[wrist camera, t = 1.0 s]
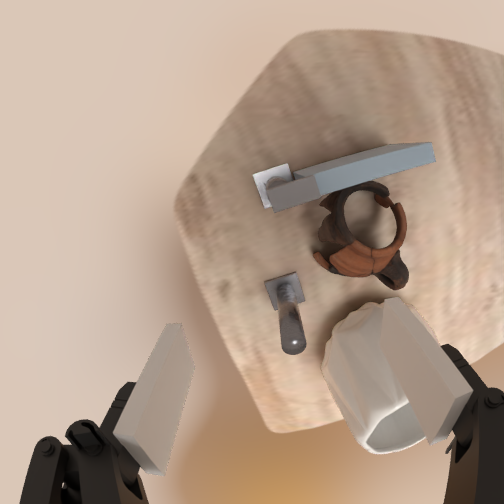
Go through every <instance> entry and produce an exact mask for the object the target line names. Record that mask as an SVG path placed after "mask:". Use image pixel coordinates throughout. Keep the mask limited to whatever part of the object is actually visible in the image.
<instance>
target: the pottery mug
mask: <svg viewBox="0 0 504 504" xmlns="http://www.w3.org/2000/svg"><path fill="white" fill-rule="evenodd" d="M360 190H366V191H371V192H374V193H375V200H376V202H378V203H379V204H380V205H381V206H383V207H385V208H388V207H389V206H390V208H391V209H392V211H393V213H394V216H395V219H396V224H397V231H396V236H395V238H394V241H393V242H392V243H391V244H390V245H389V246H387V247H385V248H381V249H374V248H370V247H367V246H365V245H363V244H362V243H360V242H359V241H358V240H356V239H355V238H354V237H353V235H352V234H351V233H350V231H349V229H348V227H347V225H346V222H345V218H344V204H345V202H346V200H347V198H348V196H349V195H351V194H352V193H353V192H356V191H360ZM388 196H389V191H388V188H387V187H385V186H384V185H382V184H380V183H377V182H374V181H367V182H363V183H360V184H357V185H353V186H350V187H347V188H344V189H340V190H337V191H334V192H332V193H331V194H330V195H329V196H328V197H327V198H325V199H324V200H323V201H322V202H321V203H320V204H319V205H320V206H323V207H325V208H326V209H328V210H329V211H331V214H329V215H328V216H326V218H325V219H324V220H323V223H322V226H321V227H320V229H319V230H318V235H319V239H320V241H321V242H324V241H327V240H328V241H330V242H334V243H338V244H342V245H344V247H343V248H342V249H341V250H339V251H338V252H336V253H334V254H332V255H330V263H332V266H331V265H329V264H328V262H327V261H326V260H325V259H324V258H323V257H322V255H321V254H320V252H316V253H314V254H313V256H314V258H315V259H316V261H317V262H318V263H319V264H320V265H321V266H322V267H324V268H325V269H327V270H328V271H330V272H331V273H334V274H339V275H343V276H349V277H367V276H370V275H372V274H373V275H375V276H376V277H377V278H378V279H379V280H380V281H381V282H382V283H383V284H385V285H386V286H387V287H389V288H390V289H392V290H399V289H401V288H403V287H404V286H405V285H406V283H407V282H408V278H409V272H408V269H407V267H406V265H405V264H404V263H403V261H402V260H401V257H400V250H399V248H400V247H401V246H402V244H403V241H404V239H405V236H406V231H407V223H406V216H405V212H404V210H403V207H402V205H401V204H400V203H396V204H395V205H394V204H393V202H392V201H391V200H390V198H389V197H388Z"/></svg>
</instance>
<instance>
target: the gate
mask: <svg viewBox="0 0 504 504" xmlns="http://www.w3.org/2000/svg"><path fill="white" fill-rule="evenodd" d="M433 162H436V160H435V155H434V151H433V147H432V143H431V142H425V143H403V144H390V145H386V146H382V147H378V148H374V149H370V150H366V151H363V152H359V153H355V154H352V155H348V156H345V157H341V158H338V159H334V160H331V161H327V162H324V163H321V164H317V165H314V166H311V167H308V168H304V169H301V170H298V171H295V172H293V174H294V177H295V180H294V181H291V182H288V183H285V184H282V185H279V186H276V187H273V188H270V189H267V190H266V191H267V194H268V197H269V200H270V202H271V205H272V208H273V211H274V213H276V212H279V211H282V210H285V209H288V208H291V207H294V206H297V205H300V204H303V203H306V202H310V201H313V200H316V199H319V198H321V195H324V194H328V193H331V192H334V191H337V190H340V189H344V188H347V187H350V186H353V185H357V184H360V183H363V182H367V181H370V180H373V179H377V178H380V177H383V176H387V175H390V174H394V173H397V172H401V171H404V170H408V169H411V168H415V167H418V166H422V165H425V164H429V163H433Z"/></svg>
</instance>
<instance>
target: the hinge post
mask: <svg viewBox="0 0 504 504" xmlns="http://www.w3.org/2000/svg"><path fill="white" fill-rule="evenodd" d="M253 178H254V180H255V183H256V186H257V189H258V192H259V194H260V197H261V200H262V203H263V206H264V209H266V208H269V207H272V205H271V202H270V200H269V197H268V194H267V191H266V190H267V189H270V188H273V187H276V186H279V185H282V184H285V183H288V182H291V181H293V178H292V175H291V172H290V169H289V166H288V163H286V164H283V165H280V166H277V167H273V168H270V169H267V170H265V171H262V172H259V173H256V174H253Z"/></svg>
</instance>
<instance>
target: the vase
mask: <svg viewBox="0 0 504 504" xmlns="http://www.w3.org/2000/svg"><path fill="white" fill-rule="evenodd" d="M405 305H406V306H407V307H408V308H409V309H410V311H411V312H412V313H413V314H414V315H415V316H416V318H417V319H418V320H419V321H420V322H421V323H422V325H423V326H424V327H425V328H426V329H427V331H428V332H429V333H430V334H431V336H432V337H433V338H434V339H435V341H436V342H437V343H438V344H439V346H440V343H439V341H438V339H437V336H436V334H435V332H434V331H433V329H432V328H431V326H430V325H429V324H428V323H427V321H426V320H425V319H424V318H423V317H422V315H421V314H420V313H419V312H418V311H417V310H416V309H415V307H414V306H413V305H410V304H405ZM383 309H384V302H383V303H381V304H378V303H375V302H367V303H365V304H364V305H363V306H362V307H360V308H359V309H358V310H357V311H352V312H350V313H349V314H348V316H347V317H346V318H345V319H343V320H341V321H340V322H338V323H337V324H336V325H335V326H334V328H333V330H332V337H331V338H330V339H329V340H328V341H327V343H326V346H325V356H324V359H323V362H322V365H321V371H322V373H323V376H324V378H325V381H326V383H327V385H328V388H329V390H330V393H331V395H332V398H333V399H334V401H335V403H336V405H337V406H338V408H339V410H340V411H341V413H342V415H343V417H344V419H345V421H346V423H347V425H348V427H349V429H350V431H351V433H352V434H353V436H354V438H355V440H356V441H357V442H358V443H359V444H360V445H361V446H362V447H363V448H365V449H366V450H367V451H368V452H370V453H374V454H387V453H390V452H398V451H401V450H404V449H406V448H409V447H411V446H413V445H415V444H417V443H419V442H420V441H421V440H423V439H425V438H426V436H425V434H424V432H423V430H422V428H421V425H420V423H419V421H418V419H417V417H416V415H415V413H414V411H413V409H412V407H411V405H410V403H409V401H408V399H407V397H406V395H405V393H404V391H403V389H402V387H401V385H400V383H399V381H398V379H397V377H396V376H395V374H394V372H393V370H392V368H391V366H390V364H389V362H388V361H387V359H386V357H385V355H384V353H383V351H382V350H381V348H380V346H379V344H380V336H381V328H382V319H383Z"/></svg>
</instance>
